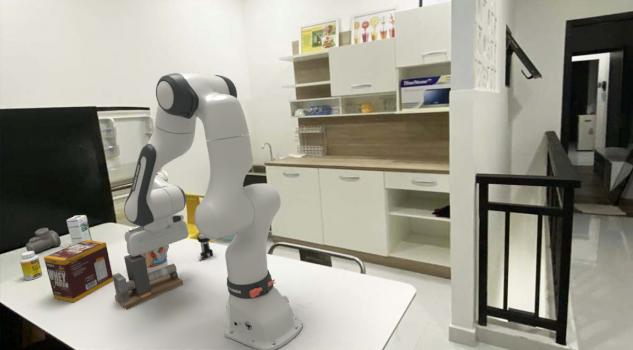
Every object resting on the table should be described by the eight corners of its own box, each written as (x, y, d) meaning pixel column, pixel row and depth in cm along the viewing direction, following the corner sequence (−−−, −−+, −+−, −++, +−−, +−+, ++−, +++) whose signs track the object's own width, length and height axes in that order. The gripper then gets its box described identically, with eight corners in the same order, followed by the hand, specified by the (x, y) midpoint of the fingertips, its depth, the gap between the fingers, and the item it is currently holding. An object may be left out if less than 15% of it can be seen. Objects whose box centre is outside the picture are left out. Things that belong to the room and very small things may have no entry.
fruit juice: (149, 262, 143) (138, 197, 137) (172, 262, 143) (161, 196, 137) (137, 274, 134) (123, 204, 128) (160, 273, 134) (148, 203, 128)
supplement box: (53, 298, 120) (42, 256, 117) (95, 277, 134) (86, 239, 131) (73, 303, 117) (63, 260, 113) (114, 280, 130) (106, 241, 127)
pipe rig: (183, 284, 124) (179, 259, 122) (126, 309, 111) (121, 282, 109) (170, 276, 131) (166, 252, 129) (115, 299, 117) (110, 273, 115)
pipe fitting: (54, 242, 172) (48, 224, 169) (63, 246, 168) (57, 227, 165) (26, 255, 162) (19, 235, 159) (35, 259, 159) (28, 239, 155)
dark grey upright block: (151, 290, 117) (144, 257, 115) (138, 296, 114) (132, 262, 112) (142, 284, 122) (136, 252, 119) (130, 289, 119) (124, 256, 117)
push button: (203, 262, 141) (200, 239, 138) (194, 259, 143) (191, 237, 141) (216, 255, 146) (213, 233, 144) (207, 253, 149) (204, 231, 147)
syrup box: (85, 248, 164) (78, 218, 161) (72, 248, 164) (66, 219, 161) (92, 243, 169) (86, 214, 166) (80, 243, 169) (74, 215, 166)
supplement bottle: (35, 280, 135) (29, 255, 133) (21, 281, 135) (14, 256, 133) (46, 273, 140) (40, 249, 138) (32, 274, 140) (25, 250, 138)
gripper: (127, 232, 110) (135, 272, 113) (187, 214, 125) (193, 250, 128) (119, 228, 114) (127, 267, 117) (179, 211, 129) (184, 246, 132)
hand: (162, 258), depth 123 cm, fingers closed
